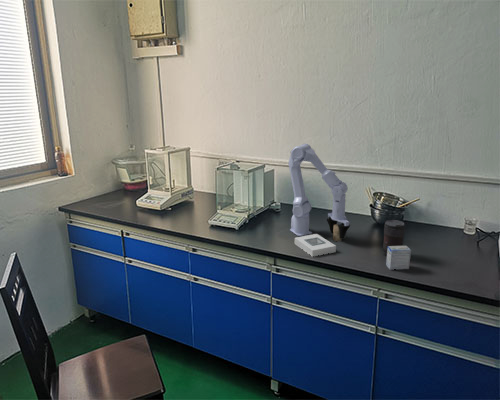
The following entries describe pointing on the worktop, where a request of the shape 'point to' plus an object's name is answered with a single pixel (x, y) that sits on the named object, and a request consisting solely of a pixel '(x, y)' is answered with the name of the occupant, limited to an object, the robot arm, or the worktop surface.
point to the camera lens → (393, 234)
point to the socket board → (315, 245)
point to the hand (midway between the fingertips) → (337, 235)
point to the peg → (336, 233)
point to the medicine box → (398, 257)
